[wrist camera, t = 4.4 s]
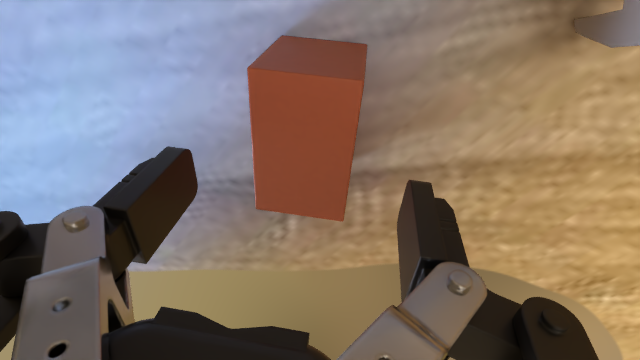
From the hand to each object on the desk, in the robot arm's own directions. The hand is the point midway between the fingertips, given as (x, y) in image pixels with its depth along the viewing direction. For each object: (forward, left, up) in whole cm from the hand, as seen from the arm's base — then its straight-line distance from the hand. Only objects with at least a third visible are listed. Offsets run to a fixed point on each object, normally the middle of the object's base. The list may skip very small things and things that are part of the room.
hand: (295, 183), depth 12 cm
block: (0, 0, -8) cm, 8 cm away
